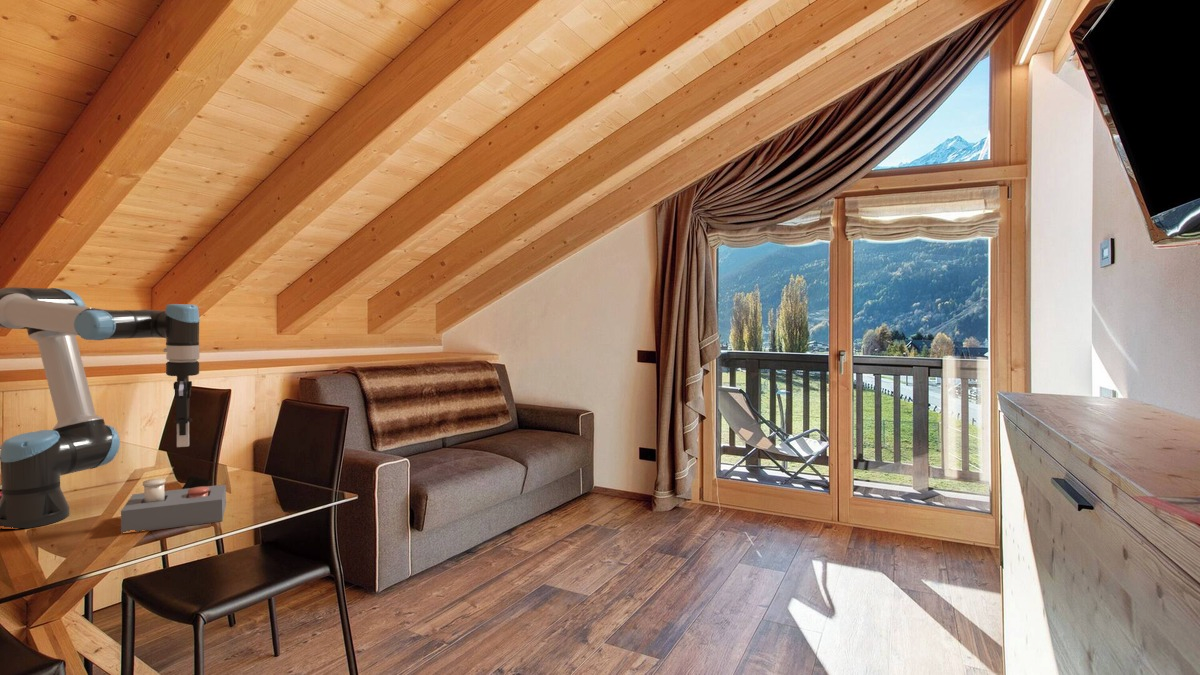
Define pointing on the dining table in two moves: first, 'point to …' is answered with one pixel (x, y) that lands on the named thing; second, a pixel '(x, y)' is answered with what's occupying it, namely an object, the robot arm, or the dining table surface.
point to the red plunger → (198, 492)
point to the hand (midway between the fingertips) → (183, 446)
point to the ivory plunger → (154, 490)
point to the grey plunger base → (173, 510)
